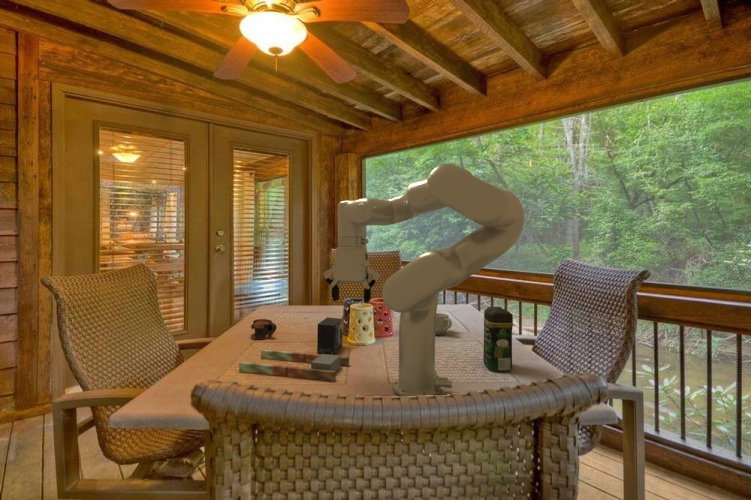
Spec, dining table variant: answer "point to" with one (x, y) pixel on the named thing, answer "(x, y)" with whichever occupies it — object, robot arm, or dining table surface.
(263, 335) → the pottery mug
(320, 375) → the channel
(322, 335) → the small box
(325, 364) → the grey block
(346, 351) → the dining table surface
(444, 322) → the teacup
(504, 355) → the coffee jar
